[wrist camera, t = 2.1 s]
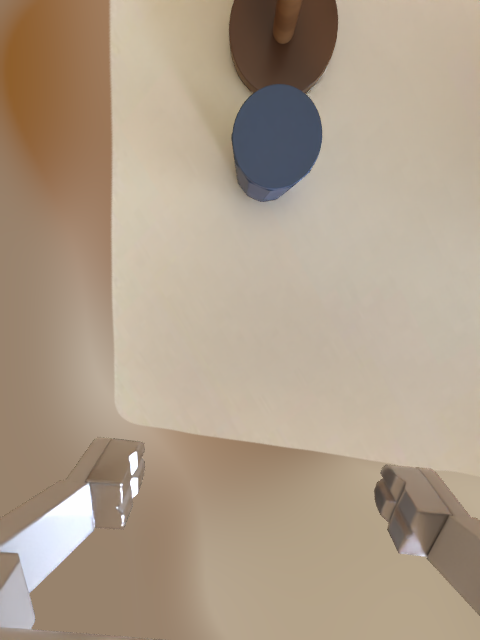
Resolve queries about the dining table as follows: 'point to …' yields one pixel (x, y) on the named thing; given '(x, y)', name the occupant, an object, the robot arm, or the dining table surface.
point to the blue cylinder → (275, 141)
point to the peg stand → (282, 41)
